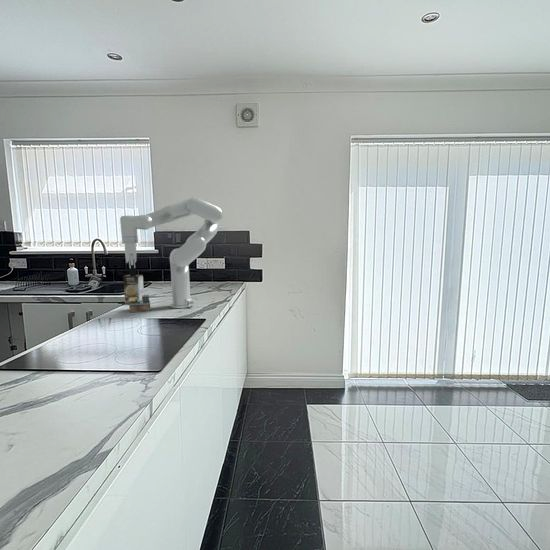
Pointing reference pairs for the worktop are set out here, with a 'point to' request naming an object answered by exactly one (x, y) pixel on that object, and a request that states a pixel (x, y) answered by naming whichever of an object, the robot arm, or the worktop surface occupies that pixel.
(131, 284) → the coffee box
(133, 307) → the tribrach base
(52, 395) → the worktop surface
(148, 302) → the instrument plate
